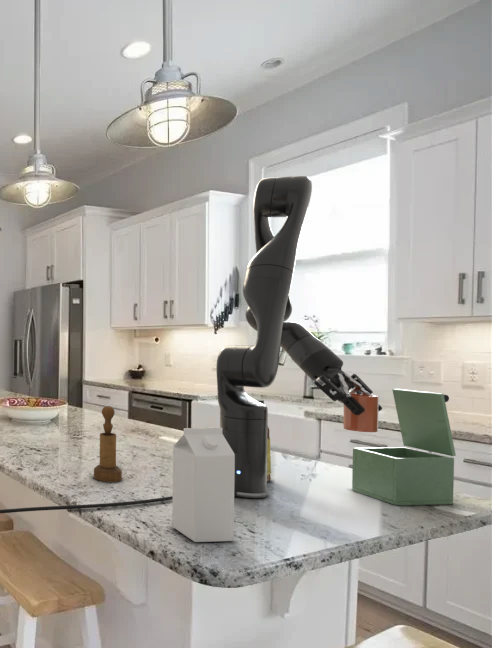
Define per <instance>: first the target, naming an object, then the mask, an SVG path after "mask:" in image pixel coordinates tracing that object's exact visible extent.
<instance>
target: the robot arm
mask: <svg viewBox="0 0 492 648" xmlns="http://www.w3.org/2000/svg"><path fill="white" fill-rule="evenodd" d="M312 190H313V183H312V180H311V178H310V177H309V176H307V175H292V176H291V175H290V176H278V177H277V176H276V177H275V176H274V177H264V178H261V179H260V180H259V181H258V183H257V184H256V186H255V190H254V194H253V202H252V203H253V204H252V205H253V206H252V208H253V209H252V214H253V229H254V243H255V252H256V253H255V254H254V255H253V257H252V258H251V259H250V260H249V262H248V264H247V265H246V270H245V275H244V279H243V283H242V294H243V295H242V296H243V298H244V300H245V302H246V305H247V306H248V307H247V308H246V310H245V320H246V322H247V323H248V325H249V326H250V327H251V328H252V329H253V330H255V331H256V341H255V344H254V345H243V344H241V345H237V344H236V345H235V344H234V345H226V346H224V347H223V348H221V349H220V351H219V352H218V355H217V359H216V385H217V387H216V388H217V391H216V392H217V403H218V407H219V428H222V434H223V436H224V437H225V439H226V441H227V442H228V444H229V446H230V447H231V449H232V451H233V452H234V454H235V476H234V497H238V498H244V499H245V498H246V499H262V498H266V497H268V481H267V432H268V428H269V425H268V422H269V420H268V419H269V409H268V406H267V405H266V404H265V403H264V404H263V403H261V402H258V401H256V400H254V399H255V398H253V397H252V396H250V395H248V393H247V392H246V391H245V387H246V388H257V389H258V388H259V389H260V388H262V389H263V388H268V387H270V386H271V385H273V383H274V381H275V379H276V377H277V373H278V369H279V365H280V364H279V362H280V356H281V349H282V350H283V351H285V353H286V354H288V356H289V357H290V359H291V360H292V361H293V362H294V363H295V364H296V365H297V366H298V367H299V369H300V370H302V371H303V373H305V375H307V377H309V378H310V380H311V381H312V382H313V384H314V385H315V386H316V387H318V388H319V389H320V390H321V391H322V392H323V393H324V394H325V395H327V397H328V398H329V399H331V400H332V401H333V402H336V401H338V403H340V404H343V406H344V405H345V406H346V407H347V408H348V409H349V410H350V411H351V412H352V413H353V414H354V415H360V414H361V413H363V412H364V411H365V409H364V408H363V407H362V406H361V405H360V404H359V403H358V402H357V401H356V400H355V399H354V398H353V397H351V395H350V394H367V395H373V392H374V391H373V390H372V389H371V388H370V387H369V386H368V385H367V384H366V383H365V382H364V381H363V380H362V379H361V378H360V377H359V376H358V375H357V374H356V373H353V374H351V375H350V374H348V373H347V372H344V371H343V369H342V368H343V366H344V361H343V360H342V359H341V358H340V357H339V356H338V355H337V354H336V353H335V352H333V351H332V350H331V349H330V348H329V346H327V344H325V342H323V341H322V340H320V339H318V338H317V337H316V336H315V335H314V334H313V333H311V332H310V330H309V329H307V327H305V326H304V325H303V324H301V323H300V322H297V321H288V320H289V318H290V317H291V315H292V312H293V306H292V305H293V304H292V301H291V297H290V291H291V287H292V283H293V278H294V273H295V266H296V260H297V254H298V248H299V243H300V239H301V234H302V231H303V227H304V224H305V220H306V216H307V213H308V209H309V205H310V203H311V197H312V192H313V191H312ZM270 218H286V219H285V222H284V223H283V225H282V227H280V229H279V230H278V232H277V233H276V234H275V235H274V233H273V231H272V228H271V224H270ZM286 321H287V322H286ZM382 410H383V407H382V406H381V405H380V404H379V411H378V413H379V412H381V411H382ZM165 501H173V495H170V496H164V497H155V498H150V499H149V498H148V499H140V500H131V501H119V502H106V503H90V504H89V503H88V504H68V505H50V506H31V507H17V508H6V509H5V508H4V509H0V514H10V513H11V514H12V513H25V512H39V511H57V510H58V511H59V510H78V509H96V508H97V509H98V508H112V507H123V506H132V505H133V506H134V505H143V504H150V503H158V502H165Z"/></svg>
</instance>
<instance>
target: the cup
mask: <svg viewBox="0 0 492 648" xmlns="http://www.w3.org/2000/svg"><path fill="white" fill-rule="evenodd" d="M350 395H351V397H353V398H354V399H355V400H356V401H357V402H358V403H359V404H360V405H361V406H362V407H363V408H364V409H365V411H364V412H363V413H361V414H360V415H354V414H353V413H352V412H351V411H350V410H349V409H348V408H347V407H346V406H345V405H344V404H343V418H342V419H343V420H342V421H343V422H342V425H343V429H344V430H347V431H352V432H361V433H378V432H379V412H380V411H379V405H380V403H379V402H380V395H375V394H371V395H367V394H357V393H356V394H350ZM378 411H379V412H378Z"/></svg>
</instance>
